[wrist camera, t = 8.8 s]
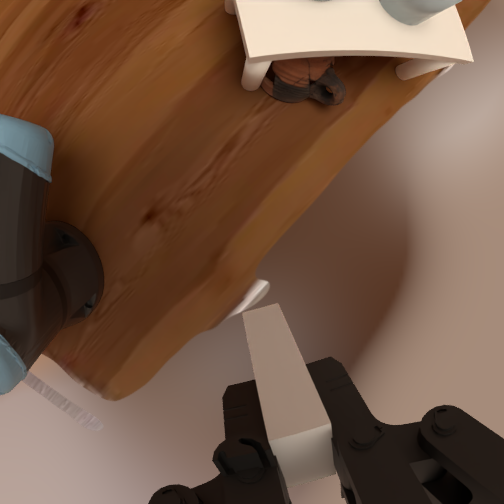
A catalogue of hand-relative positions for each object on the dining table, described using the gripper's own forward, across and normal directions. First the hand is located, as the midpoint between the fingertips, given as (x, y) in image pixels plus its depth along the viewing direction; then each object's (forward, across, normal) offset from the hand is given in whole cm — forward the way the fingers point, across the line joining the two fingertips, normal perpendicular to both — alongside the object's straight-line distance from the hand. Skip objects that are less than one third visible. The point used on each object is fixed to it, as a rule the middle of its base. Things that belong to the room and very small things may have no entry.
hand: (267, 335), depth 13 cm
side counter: (+27, +18, +21) cm, 39 cm away
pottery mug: (+28, +13, +16) cm, 34 cm away
